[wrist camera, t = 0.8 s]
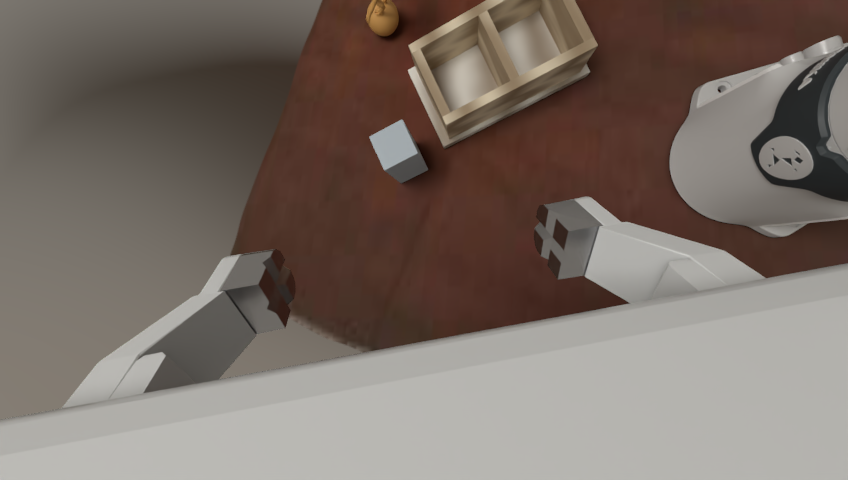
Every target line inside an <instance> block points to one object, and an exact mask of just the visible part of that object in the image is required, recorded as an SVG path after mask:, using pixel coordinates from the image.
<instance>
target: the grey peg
mask: <svg viewBox="0 0 848 480" xmlns="http://www.w3.org/2000/svg"><path fill="white" fill-rule="evenodd" d="M369 138H370V140H371V142H372V144H373V147H374V149H375V151H376V153H377V155H378V158H379V160H380V162H381V164H382V166H383V168H384V170H385V171H386V172H387V173H388V174H390V175H391V176H392V177H394V178H395V179H396V180H397V181H399V182H400V183H403V182H405V181H407V180H409V179H411V178H413V177H415V176H417V175H419V174H421V173H423V172H425V171H427V170H428V168H427V166H426V164H425V161H424V159H423V157H422V155H421V153H420V151H419V149H418V146H417V144H416V142H415V141H414V139H413V137H412V135H411V134H410V132H409V130H408V128H407V127H406V125H405V123H404V122H403V120H400V121H398V122H396V123H394V124H392V125H391V126H389V127H387V128H385V129H383V130H381V131H379V132H378V133H376V134H374V135H372V136H370V137H369Z"/></svg>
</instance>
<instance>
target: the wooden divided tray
mask: <svg viewBox="0 0 848 480" xmlns="http://www.w3.org/2000/svg"><path fill="white" fill-rule="evenodd" d="M408 46H409V49H410V52H411V55H412V58H413V61H414V64H415V66H414V67H413V68H411V69H409V70H408V72H409V75H410V77H411V79H412V81H413V83H414V86H415V88H416V90H417V92H418V94H419V96H420V98H421V100H422V103H423V105H424V107H425V109H426V111H427V113H428V115H429V117H430V120H431V122H432V124H433V126H434V128H435V130H436V132H437V134H438V137H439V139H440V141H441V143H442V145H443V147H444V149H445V148H447V147H449V146H451V145H453V144H455V143H457V142H459V141H461V140H463V139H465V138H467V137H469V136H471V135H473V134H475V133H477V132H479V131H481V130H483V129H485V128H486V127H488V126H490V125H492V124H494V123H496V122H498V121H500V120H502V119H504V118H506V117H508V116H510V115H512V114H514V113H516V112H518V111H520V110H522V109H524V108H526V107H528V106H530V105H532V104H534V103H535V102H537V101H539V100H541V99H543V98H545V97H547V96H549V95H551V94H553V93H555V92H557V91H559V90H561V89H563V88H565V87H567V86H569V85H571V84H573V83H575V82H577V81H579V80H581V79H583V78H584V77H586V76H588V74H589V73H590V70H589V68H588V66H587V64H586V63H587V61H588V60H589V58H590V57H591V55H592V54H593V52H594V51H595V49H596V48H597V46H598V45H597V43H596V41H595V39H594V37H593V35H592V33H591V31H590V29H589V27H588V25H587V23H586V21H585V19H584V17H583V15H582V13H581V12H580V10H579V8H578V6H577V4H576V2H575V0H486V1H484V2H483V3H481V4H479V5H477V6H476V7H474V8H472V9H471V10H469V11H467V12H465V13H464V14H462V15H460V16H458V17H457V18H455V19H453V20H451V21H450V22H448V23H446V24H444V25H443V26H441V27H439V28H437V29H436V30H434V31H432V32H431V33H429V34H427V35H425V36H424V37H422V38H420V39H418V40H417V41H415V42H413V43H411V44H410V45H408Z"/></svg>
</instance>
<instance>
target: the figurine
mask: <svg viewBox="0 0 848 480" xmlns="http://www.w3.org/2000/svg"><path fill="white" fill-rule="evenodd" d="M366 16H367V17H366V20H367V23H368V24H369V26H370V28H371V29H372V30H373V32H375V33H376V34H377V35H380V36H389V35H391V34H392V33H393V32H394V31H395V30H396V28H397V26H398V22H399V14H398V10H397V8H396V6H395V4H394V3H393V2H392V1H391V0H372V2H371V3H370V5H369V7H368V10H367V14H366Z"/></svg>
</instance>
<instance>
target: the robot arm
mask: <svg viewBox="0 0 848 480" xmlns="http://www.w3.org/2000/svg"><path fill="white" fill-rule="evenodd" d="M718 89H720V90H721V93H719V92H718ZM670 172H671V177H672V180H673V183H674V185H675V187H676V189H677V191H678V193H679V194H680V196H681V197H682V198H683V200H684V201H685V202H686V203H687V204H688V205H689V206H690V207H692V208H693V209H694V210H696V211H697V212H699V213H700V214H702V215H704V216H706V217H708V218H710V219H713V220H716V221H720V222H724V223H730V224H738V225H744V226H748V227H750V228H752V229H754V230H755V231H757V232H759V233H761V234H763V235H766V236H768V237H784V236H788V235H790V234H792V233H793V232H795V231H797V230H798V229H800V228H801V227H803V226H805V225H806V224H808V223H813V222H823V221H834V220H844V219H848V43H845V44H843V41H842V38H841V37H839V36H835V37H832V38H829V39H826V40H824V41H821V42H819V43H817V44H815V45H813V46H811V47H809V48H807V49H805V50H804V51H803V52H798V53H795V54H792V55H790V56H788V57H786V58H784V59H782V60H780V62H777V63H774V64H770V65H767V66H763V67H760V68H756V69H753V70H749V71H746V72H742V73H739V74H735V75H732V76H728V77H725V78H721V79H718V80H714V81H711V82H708V83H706V84H703V85H701V86H700V87H698V88H697V89H696V90H695V91H694V93H693V96H692V100H691V105H690V112H689V115H688V117H687V119H686V120H685V122H684V123H683V125H682V126H681V128H680V129H679V131H678V133H677V135H676V137H675V139H674V141H673V144H672V147H671V152H670ZM536 217H537V219H538V220H539V221H540V223H539V224H538V225H537V226H536V228H535V230H534V241H535V246H536V249H537V251H538V252H539V254H540V255H541V256H542V257H544V258H546V259H548V267H549V268H550V269H551V271H552V272H553V274H554V275H555V276H556V278H557V279H564V278H570V277H577V276H584V275H585V277H586V278H588V279H590V280H591V281H593V282H595V283H597V284H598V285H600V286H602V287H603V288H605V289H607V290H609V291H610V292H612V293H614V294H615V295H617V296H619V297H621V298H622V299H624V300H626V301H627V302H629V303H630V304H625V305H619V306H614V307H609V308H603V309H598V310H593V311H587V312H582V313H577V314H571V315H566V316H560V317H555V318H549V319H544V320H538V321H533V322H527V323H522V324H516V325H511V326H505V327H500V328H494V329H489V330H483V331H478V332H473V333H467V334H462V335H456V336H451V337H446V338H440V339H435V340H429V341H424V342H419V343H413V344H408V345H402V346H397V347H392V348H386V349H381V350H375V351H370V352H365V353H359V354H354V355H349V356H344V357H338V358H332V359H327V360H321V361H316V362H311V363H305V364H300V365H295V366H289V367H283V368H278V369H273V370H267V371H262V372H256V373H251V374H245V375H240V376H235V377H229V378H224V379H219V378H220V377H221V376H222V375H223V374H224V372H225V371H226V370H227V369H228V368H229V367H230V365H231V364H232V363H233V362H234V361H235V359H236V358H237V357H238V356H239V355H240V354H241V353H242V352H243V350H244V349H245V348H246V347H247V346H248V345H249V344H250V342H251V341H252V340H253V339H254V338H255V337H256V334H259V333H264V332H269V331H273V330H278V329H283V328H285V327H286V324H287V320H288V317H289V314H290V309H289V307H288V304H289V303H290V302H291V301H292V300H293V299H294V296H295V280H294V277H293V274H292V272H291V270H289V269H287V268H286V267H284V266H283V264H284V261H285V259H284V257H283V255H282V253H281V252H280V251H279V250H277V249H273V250H267V251H260V252H253V253H246V254H239V255H233V256H228V257H225V258H223V259H222V260H221V262H220V263H219V265H218V266H217V268H216V269H215V271H214V273H213V275H212V276H211V277H210V279H209V280H208V282H207V284H206V285H205V287H204V288H203V290H202V291H201V293H200V294H199V295H197V296H193V297H191V298H190V299H189V300H187V301H186V302H184V303H183V304H181V305H180V306H179V307H177V308H176V309H174V310H173V311H171V312H170V313H168V314H167V315H166V316H165V317H163V318H161V319H160V320H158V321H157V322H156V323H154V324H153V325H151V326H150V327H148V328H147V329H146V330H144V331H143V332H141V333H140V334H138V335H137V336H135V337H134V338H133V339H131V340H130V341H128V342H127V343H125V344H124V345H122V346H121V347H120V348H118V349H117V350H115V351H114V352H113V353H111V354H110V355H108V356H107V357H105V358H104V359H102V360H101V361H99V362H98V364H97V365H96V366H95V367H94V368H93V370H92V371H91V372H90V373H89V375H88V376H87V377H86V378H85V380H84V381H83V382H82V383H81V385H80V386H79V387H78V388H77V390H76V391H75V392H74V393H73V395H72V396H71V397H70V398H69V400H68V401H67V402H66V403H65V405H64V406H63V407H62V408H61V409H56V410H50V411H45V412H39V413H34V414H28V415H23V416H18V417H12V418H8V419H1V420H0V480H848V263H847V264H841V265H836V266H831V267H825V268H820V269H814V270H809V271H803V272H798V273H793V274H787V275H782V276H776V277H771V278H765V277H763V276H762V275H760V274H759V273H757V272H756V271H754V270H753V269H751V268H750V267H748V266H747V265H745V264H744V263H742V262H741V261H739V260H738V259H736V258H735V257H733V256H731V255H730V254H728V253H727V252H725V251H723V250H720V249H717V248H713V247H710V246H707V245H703V244H700V243H697V242H693V241H690V240H686V239H683V238H680V237H676V236H673V235H670V234H666V233H663V232H660V231H656V230H653V229H649V228H646V227H643V226H639V225H636V224H633V223H629V222H620V221H619V220H618V219H617V218H615V217H614V216H613V215H612V214H611V213H609V212H608V211H607V210H606V209H604V208H603V207H602V206H601V205H599V204H598V203H597V202H596V201H594V200H593V199H592V198H591V197H581V198H576V199H571V200H567V201H562V202H556V203H551V204H545V205H540V206H539V208H538V210H537V215H536Z"/></svg>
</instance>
